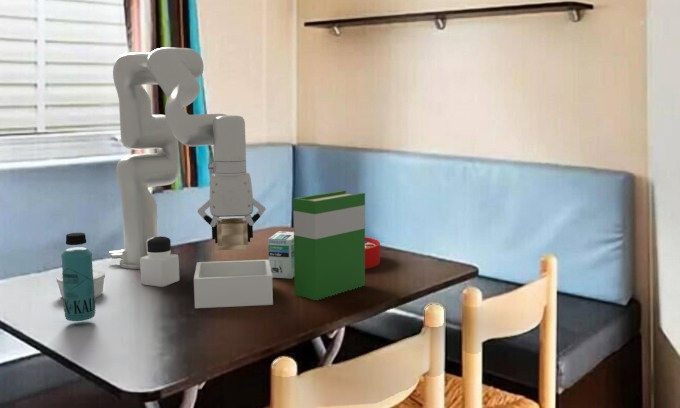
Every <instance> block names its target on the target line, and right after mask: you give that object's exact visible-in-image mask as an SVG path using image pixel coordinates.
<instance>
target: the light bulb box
mask: <svg viewBox="0 0 680 408" xmlns="http://www.w3.org/2000/svg"><path fill="white" fill-rule="evenodd" d="M267 245H268V247H267V250H268V260H269V263H270V267H271V272H272V279H274V278H275V279H276V278H277V279H290V280H291V279H293V278H294V231H282V230H279V231H277V232H276V233H274V234H273V235H272V236H270V237H269V238H268V239H267Z"/></svg>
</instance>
